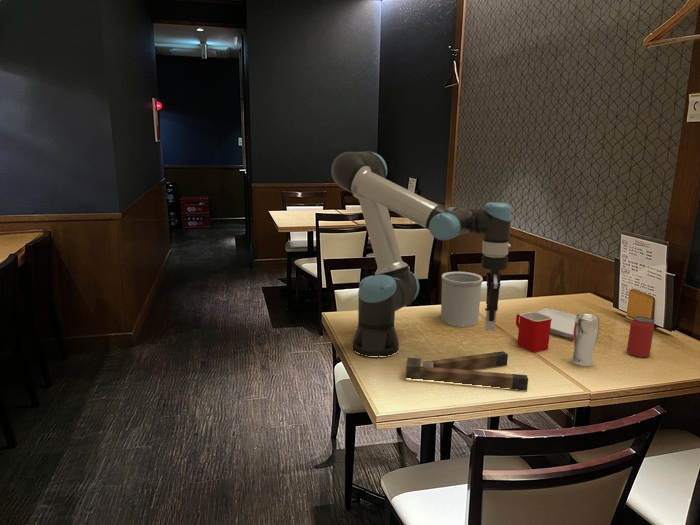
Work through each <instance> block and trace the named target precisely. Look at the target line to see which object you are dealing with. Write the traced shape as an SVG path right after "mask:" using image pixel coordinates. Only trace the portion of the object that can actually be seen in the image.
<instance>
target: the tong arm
mask: <svg viewBox="0 0 700 525" xmlns="http://www.w3.org/2000/svg"><path fill="white" fill-rule="evenodd" d="M508 358H509V354H508V353H506V352H505V351H504V350H502V351H495V352H494V351H493V352H487V353H479V354H473V355H472V354H471V355H465V356H464V355H463V356H457V357H449V358H441V359H435V360H431V361H432V362H433V367H436V368H447V369H459V370H471V371H476V370H483V369H488V368H489V369H491V368H498V367H504V366H508V360H509V359H508ZM475 369H476V370H475Z"/></svg>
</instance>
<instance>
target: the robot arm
mask: <svg viewBox="0 0 700 525" xmlns="http://www.w3.org/2000/svg"><path fill="white" fill-rule="evenodd" d="M330 172H331V177H332V179H333V181H334V182H335V183H336V184H337V186H338V187H340V188H341V189H343V190H344V191H347V192H349V193H351V194H352V196H353V197H355V198H356V199H357V200H358V202H359V204H360V205H359V206H360V209H361V212H362V215H363V218H364V223H365V227H366V230H367V234H368V236H369V237H368V238H369V241H370V244H371V249H372V251H373V256H374V260H375V263H376V265H377V269H376V271H375V272H374V275H369V276H366V277H364V278H363V279H361V281H360V282H359V284H358V286H359V287H358V291H357V294H358V307H357V308H358V310H357V312H358V314H357V315H358V317H357V318H358V320H357V327H356V331H355V334H354V336H353V338H352V341H351V342H352V345H351V346H352V347H351V348H353V349H352V351H353V350H354V351H356V352H358V353H360V354H363V355H367V356H378V357H379V356H388V355H392V354H394V353H396V352H397V351H398V350H400V341H399V338H398V336H397V332H396V331H397V330H396V328H395V319H396V318H395V316H396V315H395V313H396V312H397V311H399V310H401V309H402V308H404V307H407V306H409V305H411V303H412V302H414V301H415V300H416V299H417V297H418V295H419V292H420V282H419V278H418V277H417V275H415V273H413V272H412V271H411V270H410V267H409V264H408V263H406V262H404V261H403V260H402V255H401V251H400V248H399V245H398V242H397V237H396V234H395V230H394V226H393V223H392V219H391V216H390V213H389V210H391V211H392V212H395V214H398V215H400V216H402V217H404V218H406V219H408V220H409V221H411V222H413V223H415V224H417V225H419V226H421V227H423V228H425V229H427V230H429V232H430V234H431V235H432V237H433V238H435V239H436V240H439V241H448V240H452V239H455V238H456V237H458V236H461V235H464V234H476V235H477V234H478V235H482V236H483V238H482V245H481V246H482V247H481V248H482V249H481V253H482V254H483V255H482V256H481V267H482V268H483V269H485V270H488V272H486V276H485V278H486V301H485V304H486V307H485V308H484V309H485V311H486V314H485V316H486V317H485V327H484V328H485V331H489V332H490V331H491V332H495V331H496V319H497V311H498V308H499V305H498V304H499V298H500V296H499V294H500V288H501V281H502V275H501V273H500V271H504V270H507V269H508V264H509V257H508V255H509V248H511V246H512V245H511V244H510V235H511V224H512V207H511V206H512V205H511V204H510V203H506V202H487V203H486V204H485V205H484V208H473V207H472V208H471V207H461V206H456V207H454V206H453V207H451V206H450V207H448V208H445V207H443V206H440V204H437V203H435V202H432V201H431V200H429V199H426V197H423V196H422V195H418V194H416V193H415V192H413V191H411V190H409V189H407V188H406V187H403V186H401V185H399V184H397V183H395V182H392V181H391V180H388V179H386V177H387V175H388V167H387V163H386V161H385V159H384V158H383V157H382V156H381V155H380V154H378V153H377V152H373V151H369V150H364V151H345V152H343V153H342V152H341V153H340V154H338V156H337V157H335V159H334V160H333V162H332V165H331V171H330ZM354 351H353V352H354ZM356 352H355V353H356ZM398 352H399V351H398ZM398 352H397V353H398ZM397 353H396V354H397ZM392 356H393V355H392Z"/></svg>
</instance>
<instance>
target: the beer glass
mask: <svg viewBox="0 0 700 525" xmlns="http://www.w3.org/2000/svg"><path fill="white" fill-rule="evenodd" d="M575 315H576V319H575V323H574V331H573V337H572V338H573V355H572V357H571V360H570V361H571V364H573V365H575V366H579V367H583V368H584V367H585V368H586V367H587V368H588V367H593V353H594V349H595V346H596V343H597V341H598V338H599V332H600V322H599V321H600V317H599V316H598V315H595V314H591V313H586V312H585V313H576V314H575Z"/></svg>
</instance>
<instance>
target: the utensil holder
mask: <svg viewBox="0 0 700 525" xmlns="http://www.w3.org/2000/svg"><path fill="white" fill-rule="evenodd" d="M483 279H484V278H483V277H482V276H481V275H480V274H478V273H473V272H467V271H450V272H444V273H442V274H441V302H440V303H441V304H440V306H441V310H440V312H441V313H440V316H441V317H440V318H441V322H443V323H444V324H445V325H448V326H451V327H456V328H457V327H458V328H470V327H474V326H476V325H477V324H478V323H479V315H480V305H481V294H482V284H483Z"/></svg>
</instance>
